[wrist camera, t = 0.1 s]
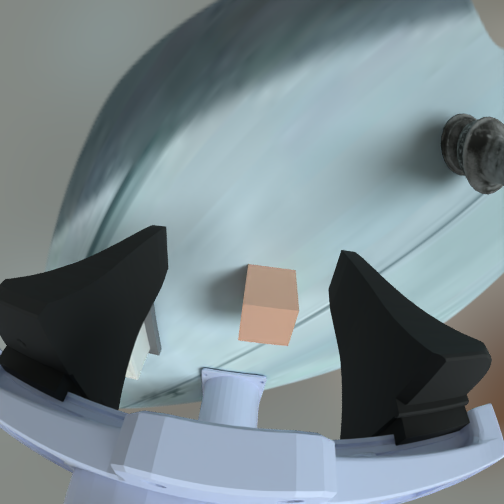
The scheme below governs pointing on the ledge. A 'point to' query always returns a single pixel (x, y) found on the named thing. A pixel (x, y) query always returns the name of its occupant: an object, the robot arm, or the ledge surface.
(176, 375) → the ledge surface
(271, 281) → the terracotta brick
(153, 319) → the tower base
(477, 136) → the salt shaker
